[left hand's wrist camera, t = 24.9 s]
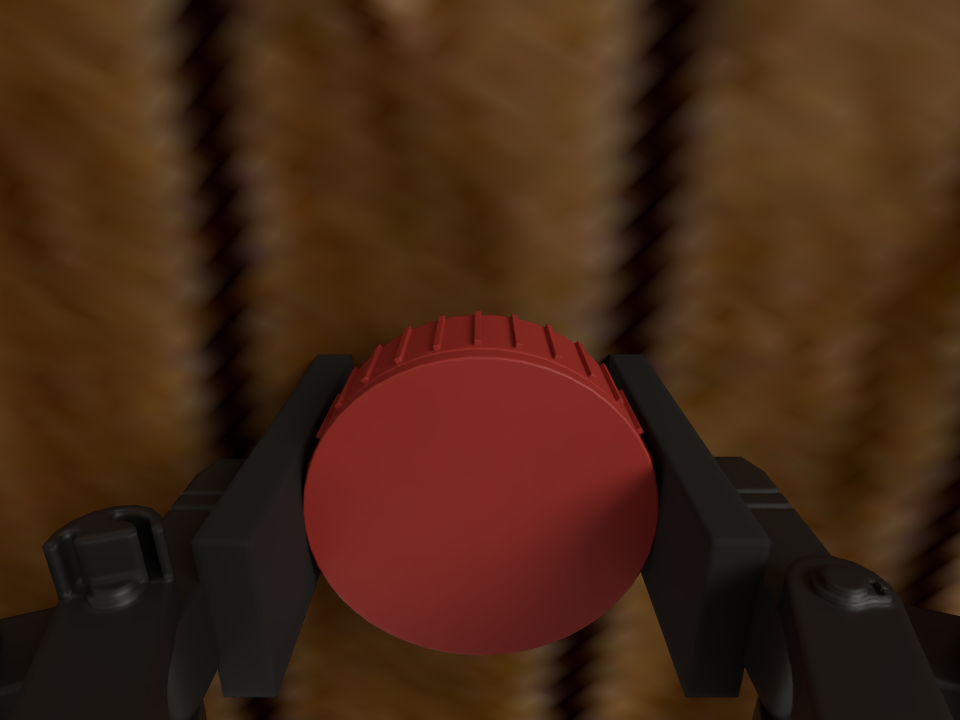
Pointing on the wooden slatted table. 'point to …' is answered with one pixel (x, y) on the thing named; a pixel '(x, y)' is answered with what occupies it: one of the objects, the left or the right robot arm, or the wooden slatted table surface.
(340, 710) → the wooden slatted table surface
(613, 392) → the lid
